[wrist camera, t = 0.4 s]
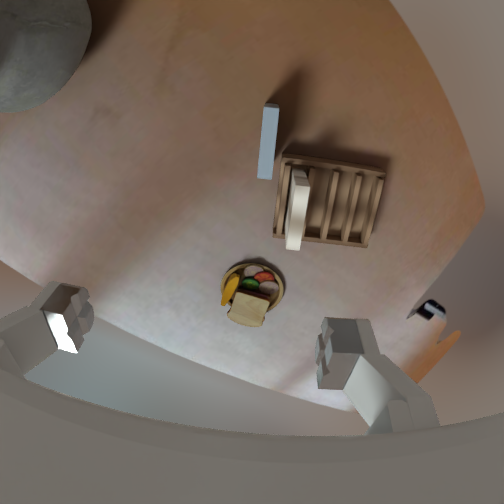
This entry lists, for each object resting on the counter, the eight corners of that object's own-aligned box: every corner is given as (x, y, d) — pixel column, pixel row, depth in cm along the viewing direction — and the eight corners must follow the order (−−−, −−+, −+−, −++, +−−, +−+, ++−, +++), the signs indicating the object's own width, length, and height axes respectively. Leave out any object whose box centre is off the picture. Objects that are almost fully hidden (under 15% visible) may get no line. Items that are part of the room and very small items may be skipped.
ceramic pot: (26, 120, 47) (-66, 157, 26) (9, 22, 36) (-81, 27, 14) (123, 75, 44) (25, 85, 22) (104, -36, 32) (16, -73, 11)
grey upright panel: (265, 102, 46) (263, 106, 38) (277, 104, 46) (279, 108, 38) (259, 162, 51) (257, 178, 43) (271, 163, 51) (271, 179, 43)
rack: (282, 152, 50) (284, 169, 41) (380, 167, 50) (401, 187, 41) (272, 229, 57) (272, 259, 48) (362, 239, 57) (377, 269, 48)
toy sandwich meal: (294, 275, 62) (295, 290, 58) (264, 320, 69) (263, 336, 65) (236, 250, 60) (233, 264, 56) (210, 300, 67) (207, 314, 63)
